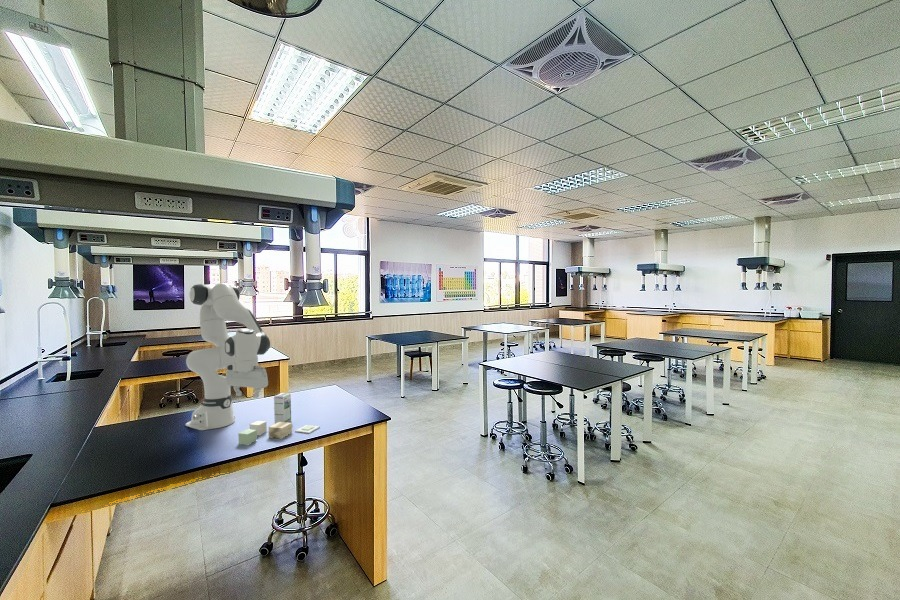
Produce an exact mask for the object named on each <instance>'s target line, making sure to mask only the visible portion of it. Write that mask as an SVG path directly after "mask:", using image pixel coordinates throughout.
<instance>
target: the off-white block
mask: <svg viewBox="0 0 900 600" xmlns="http://www.w3.org/2000/svg"><path fill="white" fill-rule="evenodd" d="M249 429H252V430H257V435H259V436H261V435H263V434H264V432H265V433H267V432H266V431H267V430H268V429H267V421H265V420H264V421H262V420H256V421H254V422H252V423H250V424H249ZM262 433H263V434H262ZM260 434H261V435H260Z"/></svg>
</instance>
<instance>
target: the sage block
mask: <svg viewBox="0 0 900 600" xmlns="http://www.w3.org/2000/svg"><path fill="white" fill-rule="evenodd" d="M237 435H238V445H241V444H245V445H244V446H249V445H248V444H250V443H252V442H254V441H256V440H257V439H258V438H257V437H258V436H257V430H252V429H250V428H246V429H245V430H242V431H240V432H238V434H237ZM257 441H258V440H257ZM257 441H256V442H257ZM254 443H255V442H254ZM252 444H253V443H252ZM250 445H251V444H250Z"/></svg>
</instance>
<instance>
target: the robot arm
mask: <svg viewBox="0 0 900 600" xmlns="http://www.w3.org/2000/svg"><path fill="white" fill-rule="evenodd" d="M240 296H241V294H240V289H239V288H238V287H237V286H236V285H232V284H228V283H225V282H220V283H215V284H214V283H213V284H212V283H211V284H209V283H208V284H202V283H200V284H199V283H197V284H193V286H191V288H190V290H189V299H190V302H191V303H192V304H194V305H198V306H201V307H200V312H199V325H200V334H201V338H202V339H203V340H204V341H205V342H207V343H211V344H213V345H214V346H215V347H211V348H210V347H209V348H201V349H198V350H193V351H191V352H189V353H188V355H187V356H186V359H185V364H186V366H187V368H188V369H189V370H190V371H191V372H193V373H195V374H197V375H198V376H199V377H200V378H201V380H202V383H203V388H204V397H203V398H202V399H200V402H202V403H201V405H200V406H199V407H198V408H196V409H195V410H193V412H192V413H191V420H190V421H188V422H186V423H185V426H186V427H189V428H191V429H195V430H198V431H208V430H212V429H214V430H215V429H220V428H224V427H227V426H230V425H232V424H234V423H235V422H236V420H235V419H236V417H235V415H234V407H233V404H232V400H233V399H232V398H233V397H232V394H231V392H232V391H231V387H233V390H234V392H235V396H236V397H240V396H241V397H242V395H243V393H242V391H241V390H240V388H250V389H251V388H252V389H254V393H252V397H253V399H254V398H255V399H256V398H259V395H260V392H261V390H262V389H264V388H266V387H268V385H269V380H268V373H267V369H266V368H265V367H264V366H259V357H258V356H260V355H262V356H263V355H265V354H266V353H267V352H268V351H269V350H270V348H271V340H270V338H269V336H267V334H266V333H265V332H264V330H263V328H262V327H261V325H260V324H259V322H258V321H257V319H256V316H254V313H253V312H252V311H251V309H248V308H246V307H245V306H244V305H243V304H242V303H241V302H240ZM226 321H229V322H235V323H239V324H241V325H244V326H245V327H246V328H240V329H238V330H237V331H235V334H234V335H233V336H229V334H228V329H227V325H226V324H227V323H226ZM223 369H225V370H226V373H225V375H223V374H218V370H223Z"/></svg>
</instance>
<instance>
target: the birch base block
mask: <svg viewBox="0 0 900 600" xmlns="http://www.w3.org/2000/svg"><path fill="white" fill-rule="evenodd" d="M290 433H291V434H292V433H293V423H292V422H278V423H276V424H275V423H274V424H272V425H270V426H268V438H271V437H275V438H274V439H280V438H282V439H284V438H286V437H287V436H289V435H291V434H290ZM288 434H289V435H288ZM285 436H286V437H285ZM283 437H284V438H283Z"/></svg>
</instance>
